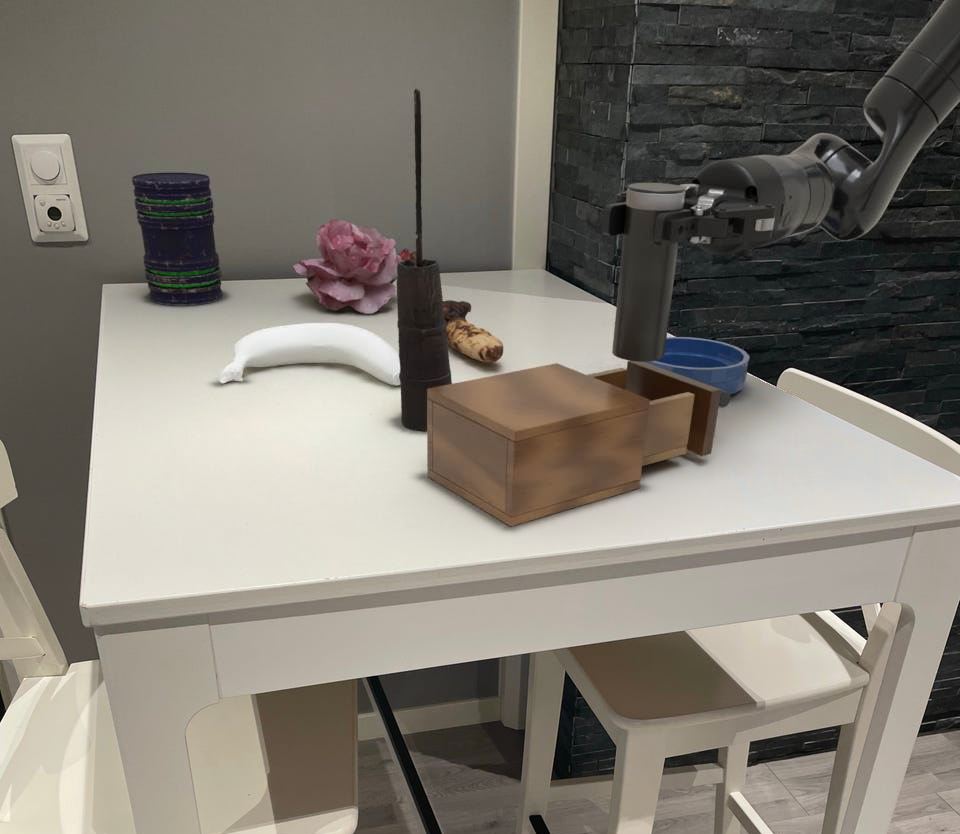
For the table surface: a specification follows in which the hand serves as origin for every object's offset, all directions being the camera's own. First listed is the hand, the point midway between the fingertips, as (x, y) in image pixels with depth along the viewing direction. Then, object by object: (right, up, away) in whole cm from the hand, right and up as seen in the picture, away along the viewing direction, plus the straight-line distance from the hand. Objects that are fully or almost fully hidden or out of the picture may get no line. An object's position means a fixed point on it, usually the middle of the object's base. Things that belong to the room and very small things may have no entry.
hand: (632, 225), depth 75 cm
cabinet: (-7, -19, +7) cm, 21 cm away
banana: (-30, -4, +29) cm, 42 cm away
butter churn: (-17, -11, +19) cm, 28 cm away
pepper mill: (+2, -8, +7) cm, 11 cm away
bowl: (+11, -4, +30) cm, 32 cm away
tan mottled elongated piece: (-15, +1, +38) cm, 41 cm away
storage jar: (-52, +15, +58) cm, 79 cm away
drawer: (+2, -15, +12) cm, 19 cm away
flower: (-29, +14, +58) cm, 66 cm away
